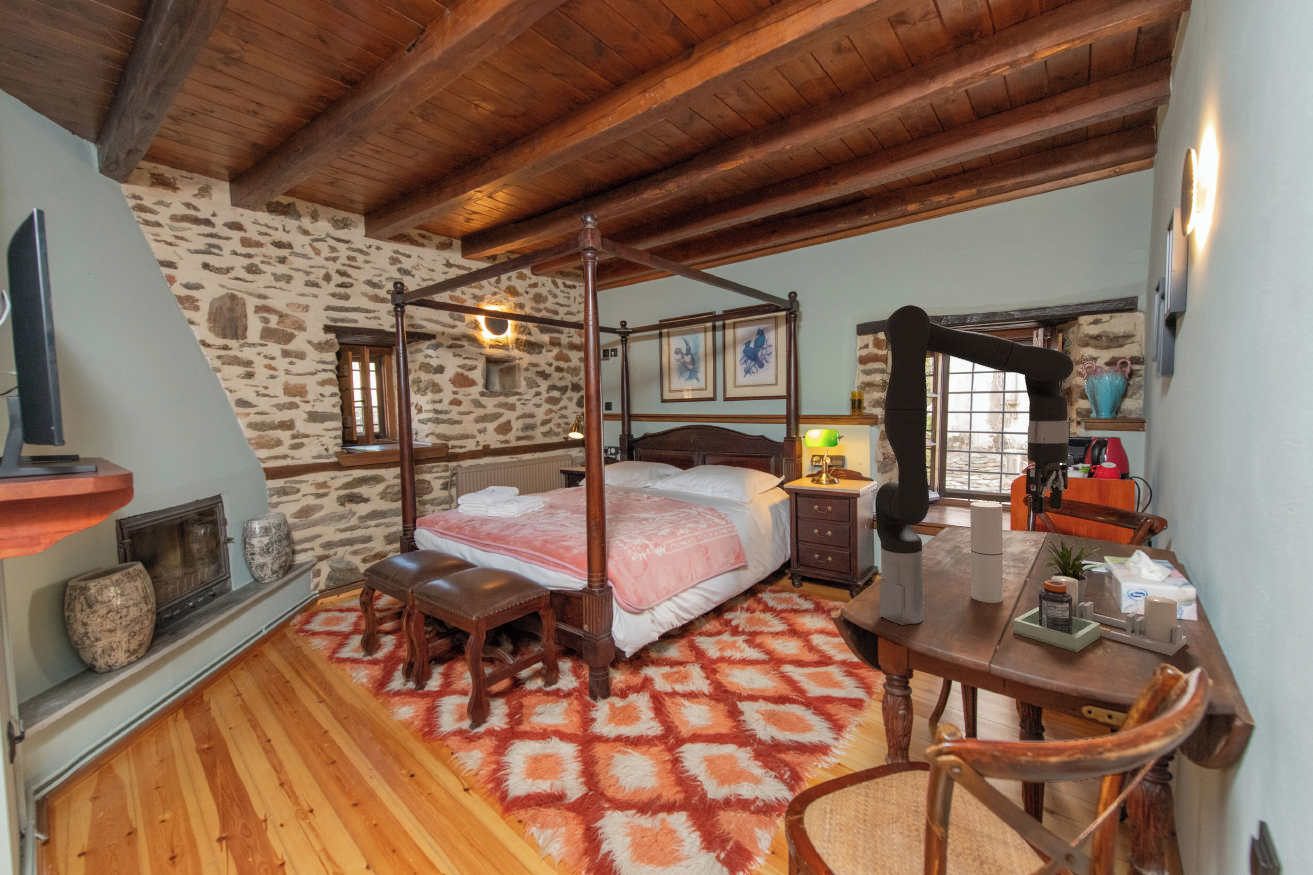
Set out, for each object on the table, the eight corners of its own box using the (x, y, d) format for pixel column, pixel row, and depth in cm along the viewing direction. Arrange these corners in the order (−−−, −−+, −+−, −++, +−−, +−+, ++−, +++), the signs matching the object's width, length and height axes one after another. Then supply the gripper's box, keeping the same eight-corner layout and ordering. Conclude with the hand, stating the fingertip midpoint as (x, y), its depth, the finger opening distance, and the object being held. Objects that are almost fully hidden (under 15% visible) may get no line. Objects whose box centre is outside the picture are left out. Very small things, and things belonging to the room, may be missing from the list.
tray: (1076, 652, 111) (1076, 638, 111) (1013, 632, 121) (1013, 619, 121) (1100, 636, 117) (1100, 623, 117) (1037, 619, 127) (1037, 606, 127)
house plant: (1017, 594, 143) (1017, 534, 142) (1052, 585, 148) (1052, 527, 147) (1075, 612, 130) (1075, 546, 129) (1111, 602, 135) (1112, 539, 134)
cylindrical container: (971, 600, 140) (971, 506, 139) (970, 591, 147) (969, 501, 145) (1004, 604, 137) (1003, 507, 135) (1001, 594, 143) (1000, 502, 142)
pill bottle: (1047, 624, 123) (1047, 576, 122) (1077, 633, 118) (1078, 583, 117) (1033, 630, 120) (1033, 581, 119) (1063, 640, 115) (1063, 588, 114)
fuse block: (1171, 655, 108) (1172, 609, 107) (1041, 619, 127) (1041, 580, 126) (1186, 643, 112) (1186, 599, 112) (1058, 610, 132) (1058, 572, 131)
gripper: (1051, 443, 115) (1050, 518, 116) (1081, 439, 122) (1080, 509, 123) (1013, 441, 121) (1013, 512, 122) (1044, 438, 128) (1043, 504, 129)
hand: (1047, 510), depth 123 cm, fingers open, 8 cm apart
